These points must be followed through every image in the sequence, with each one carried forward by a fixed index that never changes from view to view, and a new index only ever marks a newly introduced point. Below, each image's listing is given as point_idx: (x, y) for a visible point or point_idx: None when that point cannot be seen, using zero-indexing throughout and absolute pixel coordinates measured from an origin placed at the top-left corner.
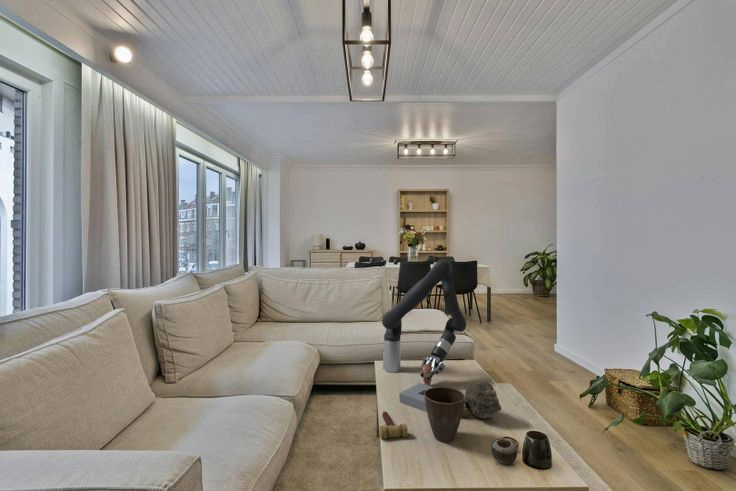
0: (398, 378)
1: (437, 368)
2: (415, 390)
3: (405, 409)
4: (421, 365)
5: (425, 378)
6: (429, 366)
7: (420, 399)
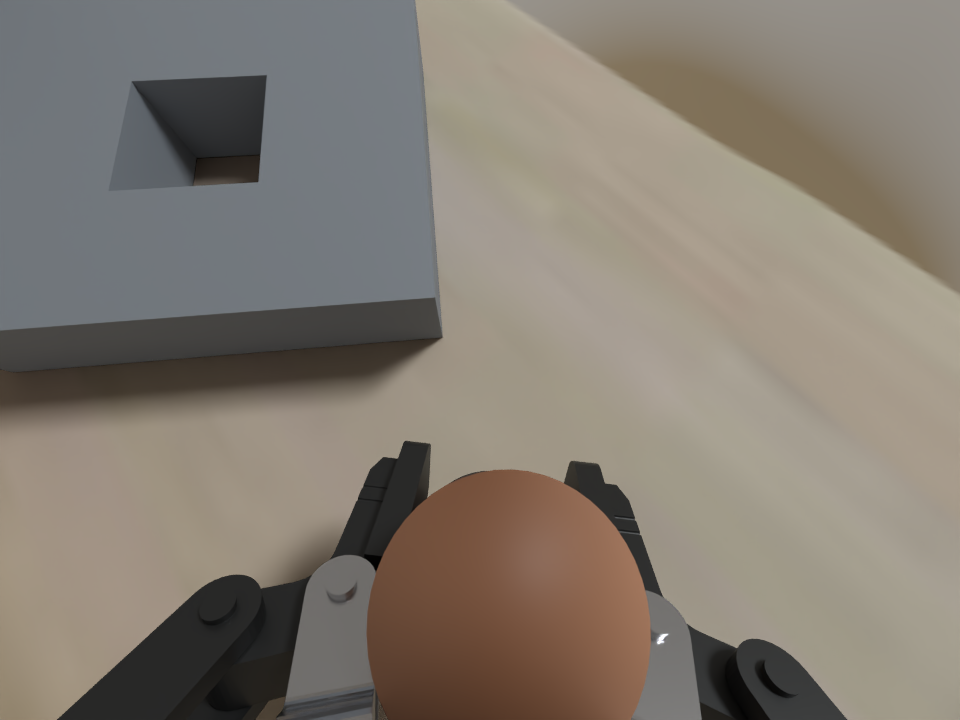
0: (879, 433)
1: (83, 715)
2: (330, 108)
3: None
4: (797, 668)
5: (473, 473)
6: (430, 647)
7: (164, 6)
